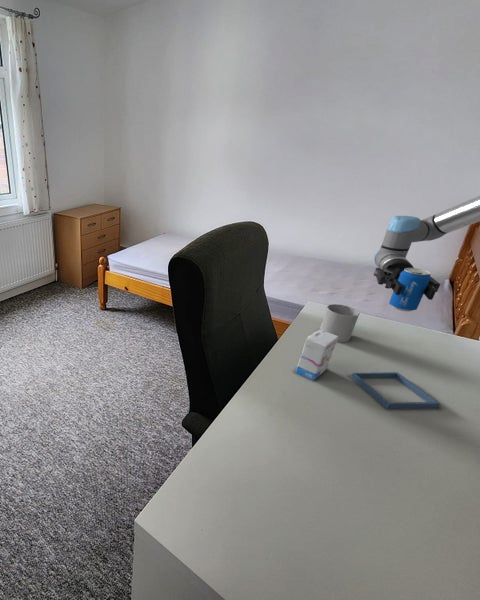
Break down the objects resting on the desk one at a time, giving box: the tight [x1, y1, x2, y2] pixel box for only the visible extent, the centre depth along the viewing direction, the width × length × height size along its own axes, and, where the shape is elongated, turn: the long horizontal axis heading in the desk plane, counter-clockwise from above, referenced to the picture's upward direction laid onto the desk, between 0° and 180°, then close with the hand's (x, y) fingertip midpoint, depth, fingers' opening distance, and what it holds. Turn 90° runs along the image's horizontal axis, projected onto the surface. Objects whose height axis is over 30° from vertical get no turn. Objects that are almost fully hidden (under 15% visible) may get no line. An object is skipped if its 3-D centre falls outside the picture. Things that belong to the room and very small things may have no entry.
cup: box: [319, 303, 360, 343], centre depth 110 cm, size 8×8×10 cm
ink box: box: [294, 329, 338, 381], centre depth 93 cm, size 9×5×12 cm, turn 126°
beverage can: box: [388, 267, 432, 313], centre depth 101 cm, size 6×6×12 cm
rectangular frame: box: [350, 371, 441, 410], centre depth 87 cm, size 12×12×2 cm
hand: (415, 292), depth 97 cm, fingers closed on beverage can, 6 cm apart
